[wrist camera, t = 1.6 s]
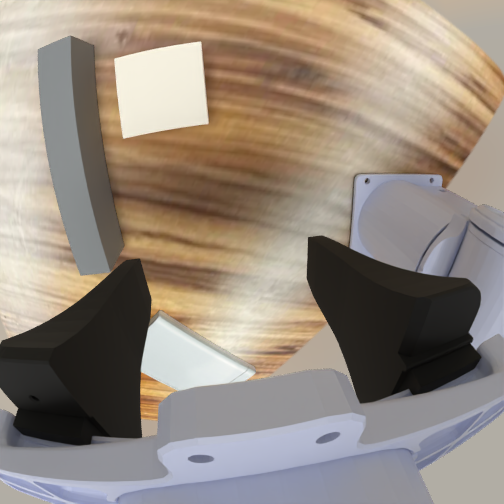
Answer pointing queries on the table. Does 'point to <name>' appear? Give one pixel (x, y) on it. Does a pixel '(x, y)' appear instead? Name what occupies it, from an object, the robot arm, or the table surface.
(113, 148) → the table surface
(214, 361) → the hard drive
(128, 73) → the cream block
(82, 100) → the gray bar
